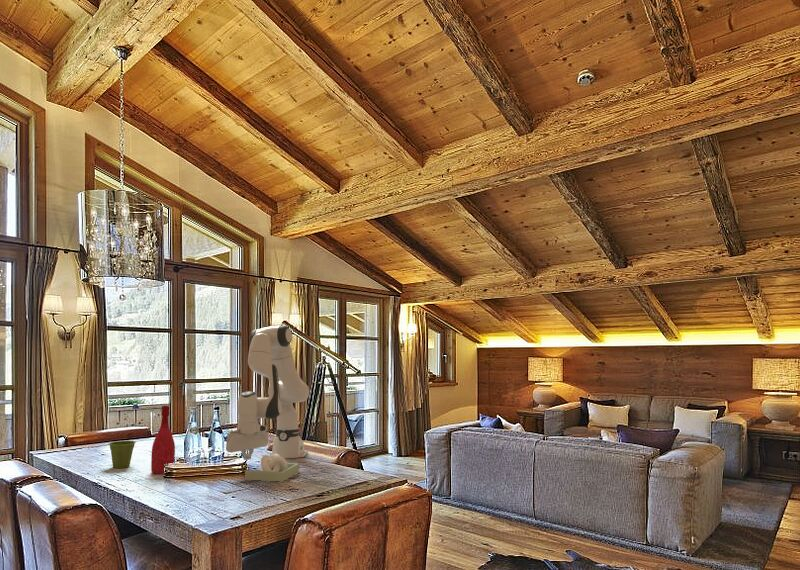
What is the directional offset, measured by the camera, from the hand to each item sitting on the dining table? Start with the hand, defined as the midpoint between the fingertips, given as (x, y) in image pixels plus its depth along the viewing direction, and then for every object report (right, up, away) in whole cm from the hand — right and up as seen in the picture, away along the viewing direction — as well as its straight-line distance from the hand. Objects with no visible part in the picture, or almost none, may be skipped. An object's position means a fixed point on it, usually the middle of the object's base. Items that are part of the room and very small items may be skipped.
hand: (247, 459), depth 268 cm
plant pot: (-63, -8, +14) cm, 65 cm away
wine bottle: (-39, -7, +2) cm, 40 cm away
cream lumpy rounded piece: (+11, -7, -3) cm, 14 cm away
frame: (+12, -6, -4) cm, 14 cm away
